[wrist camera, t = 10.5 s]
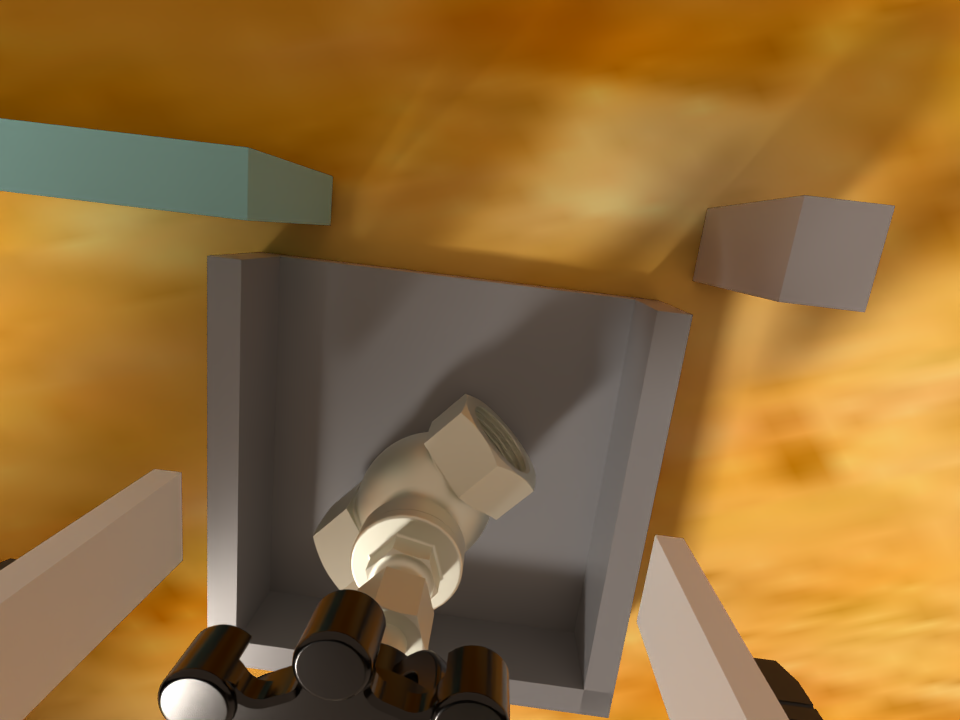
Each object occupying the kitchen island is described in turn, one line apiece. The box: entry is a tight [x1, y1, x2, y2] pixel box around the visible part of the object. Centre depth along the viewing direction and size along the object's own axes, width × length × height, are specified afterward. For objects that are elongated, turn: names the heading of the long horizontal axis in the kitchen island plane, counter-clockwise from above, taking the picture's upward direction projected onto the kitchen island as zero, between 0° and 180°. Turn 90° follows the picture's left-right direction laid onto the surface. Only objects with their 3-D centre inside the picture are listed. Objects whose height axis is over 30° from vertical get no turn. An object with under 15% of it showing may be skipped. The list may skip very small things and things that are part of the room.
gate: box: [0, 118, 333, 225], centre depth 15 cm, size 2×15×6 cm, turn 84°
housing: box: [207, 195, 895, 718], centre depth 17 cm, size 17×17×6 cm
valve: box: [158, 394, 536, 720], centre depth 14 cm, size 7×7×12 cm
